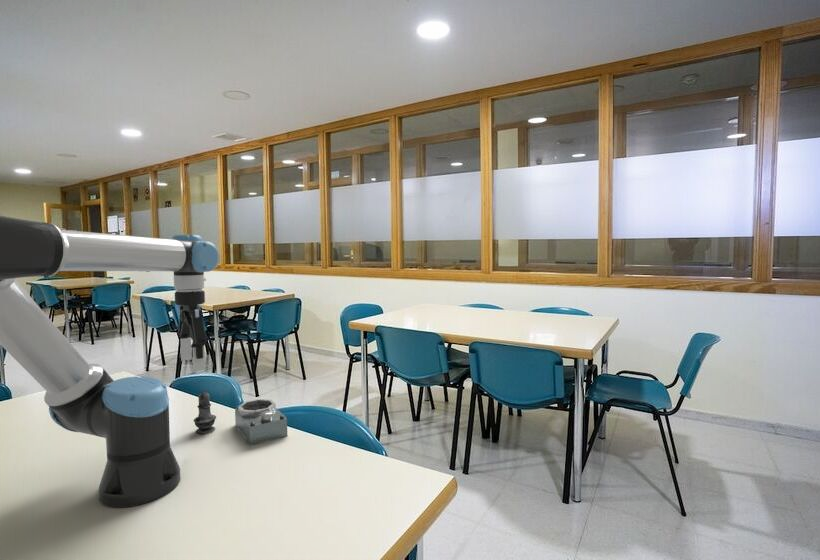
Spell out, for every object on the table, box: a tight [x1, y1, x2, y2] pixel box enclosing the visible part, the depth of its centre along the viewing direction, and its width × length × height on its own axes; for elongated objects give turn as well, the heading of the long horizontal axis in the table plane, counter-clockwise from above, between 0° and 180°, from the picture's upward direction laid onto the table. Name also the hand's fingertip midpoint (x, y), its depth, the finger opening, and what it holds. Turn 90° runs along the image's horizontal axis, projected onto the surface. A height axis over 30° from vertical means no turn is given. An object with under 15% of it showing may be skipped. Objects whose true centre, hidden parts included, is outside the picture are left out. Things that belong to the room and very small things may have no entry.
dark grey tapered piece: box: [192, 389, 217, 436], centre depth 124 cm, size 6×6×12 cm
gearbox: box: [234, 398, 288, 446], centre depth 124 cm, size 16×10×7 cm, turn 35°
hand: (192, 364), depth 123 cm, fingers open, 13 cm apart
